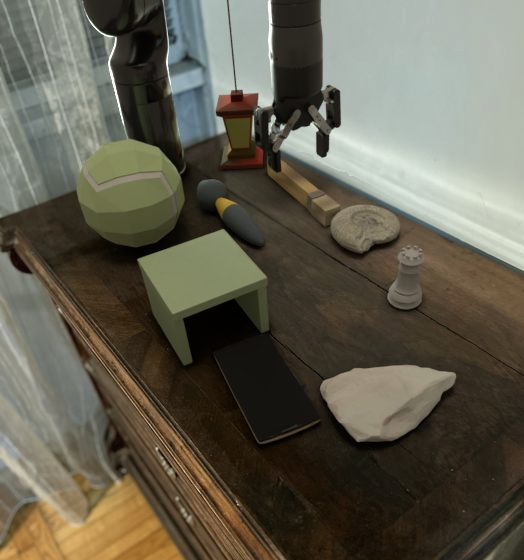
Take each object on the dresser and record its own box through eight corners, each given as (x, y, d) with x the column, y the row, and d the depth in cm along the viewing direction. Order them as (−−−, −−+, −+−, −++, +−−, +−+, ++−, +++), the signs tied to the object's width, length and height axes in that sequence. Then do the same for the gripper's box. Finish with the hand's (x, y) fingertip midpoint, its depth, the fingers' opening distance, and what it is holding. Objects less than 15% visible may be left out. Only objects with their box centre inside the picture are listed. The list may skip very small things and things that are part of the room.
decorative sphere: (199, 251, 84) (183, 158, 73) (101, 275, 81) (70, 183, 71) (177, 203, 94) (160, 115, 83) (89, 223, 91) (60, 135, 81)
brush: (265, 175, 99) (264, 159, 97) (279, 170, 100) (278, 155, 98) (324, 226, 86) (325, 210, 84) (339, 221, 87) (340, 204, 85)
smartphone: (267, 331, 69) (322, 418, 59) (268, 337, 70) (322, 424, 60) (212, 350, 67) (259, 442, 58) (213, 356, 68) (260, 449, 58)
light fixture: (263, 148, 106) (251, -39, 85) (262, 167, 101) (249, -27, 79) (224, 150, 107) (202, -35, 85) (221, 169, 101) (196, -23, 80)
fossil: (375, 242, 76) (314, 228, 81) (376, 264, 79) (316, 250, 84) (411, 203, 82) (352, 192, 87) (410, 225, 84) (353, 213, 90)
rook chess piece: (400, 285, 76) (407, 236, 70) (428, 299, 73) (438, 249, 67) (380, 301, 74) (386, 252, 68) (408, 316, 71) (416, 266, 65)
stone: (312, 360, 61) (435, 330, 64) (311, 385, 64) (428, 355, 67) (349, 435, 54) (485, 398, 56) (346, 459, 57) (476, 422, 59)
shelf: (151, 312, 75) (136, 258, 68) (230, 282, 78) (223, 228, 72) (185, 368, 67) (172, 314, 61) (271, 332, 71) (267, 277, 64)
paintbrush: (282, 241, 85) (281, 212, 81) (257, 254, 83) (254, 225, 79) (211, 192, 96) (207, 165, 92) (186, 203, 94) (181, 176, 90)
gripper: (264, 75, 73) (272, 186, 85) (353, 50, 78) (349, 159, 89) (239, 60, 78) (250, 166, 90) (324, 37, 82) (323, 142, 94)
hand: (299, 163), depth 89 cm, fingers open, 8 cm apart
